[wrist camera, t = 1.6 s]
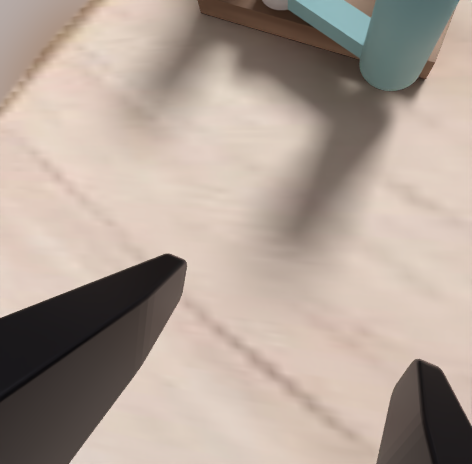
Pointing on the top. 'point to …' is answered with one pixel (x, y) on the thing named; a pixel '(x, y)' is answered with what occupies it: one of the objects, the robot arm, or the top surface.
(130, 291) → the robot arm
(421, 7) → the hinged leg
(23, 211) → the top surface
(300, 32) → the brown peg stand
